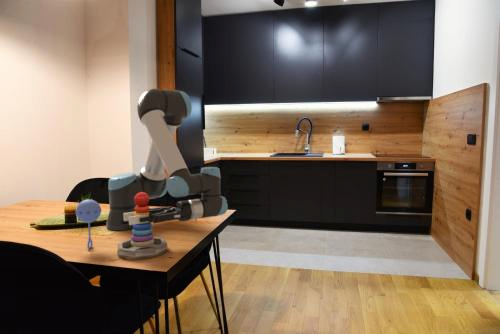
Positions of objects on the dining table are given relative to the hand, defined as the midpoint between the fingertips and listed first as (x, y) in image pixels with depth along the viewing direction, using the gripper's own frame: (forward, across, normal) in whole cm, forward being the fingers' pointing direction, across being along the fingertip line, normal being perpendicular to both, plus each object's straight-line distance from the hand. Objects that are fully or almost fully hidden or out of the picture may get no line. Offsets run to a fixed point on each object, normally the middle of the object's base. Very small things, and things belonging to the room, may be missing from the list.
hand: (126, 219), depth 127 cm
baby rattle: (+9, +16, -13) cm, 22 cm away
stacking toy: (-5, 0, -10) cm, 11 cm away
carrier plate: (-5, 0, -12) cm, 14 cm away
